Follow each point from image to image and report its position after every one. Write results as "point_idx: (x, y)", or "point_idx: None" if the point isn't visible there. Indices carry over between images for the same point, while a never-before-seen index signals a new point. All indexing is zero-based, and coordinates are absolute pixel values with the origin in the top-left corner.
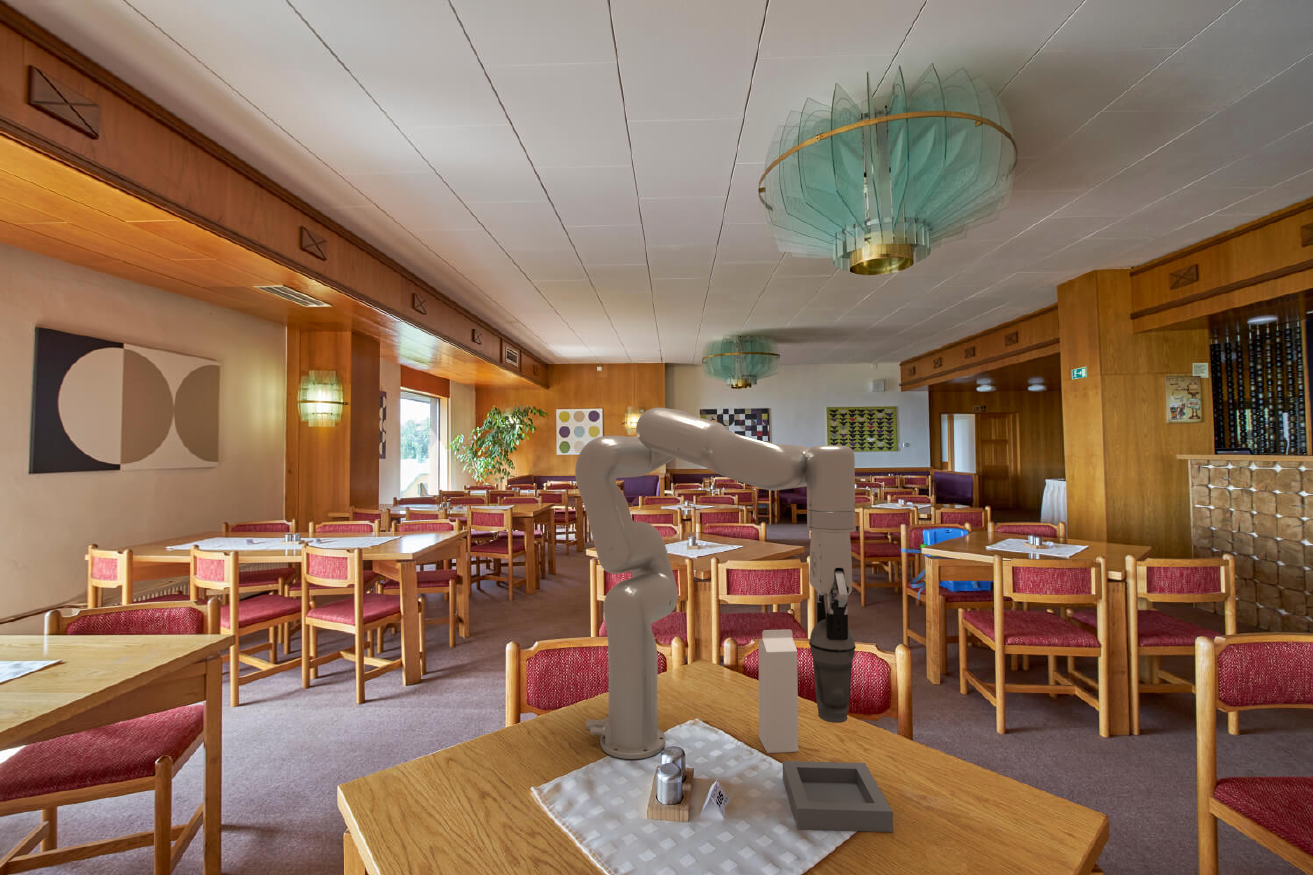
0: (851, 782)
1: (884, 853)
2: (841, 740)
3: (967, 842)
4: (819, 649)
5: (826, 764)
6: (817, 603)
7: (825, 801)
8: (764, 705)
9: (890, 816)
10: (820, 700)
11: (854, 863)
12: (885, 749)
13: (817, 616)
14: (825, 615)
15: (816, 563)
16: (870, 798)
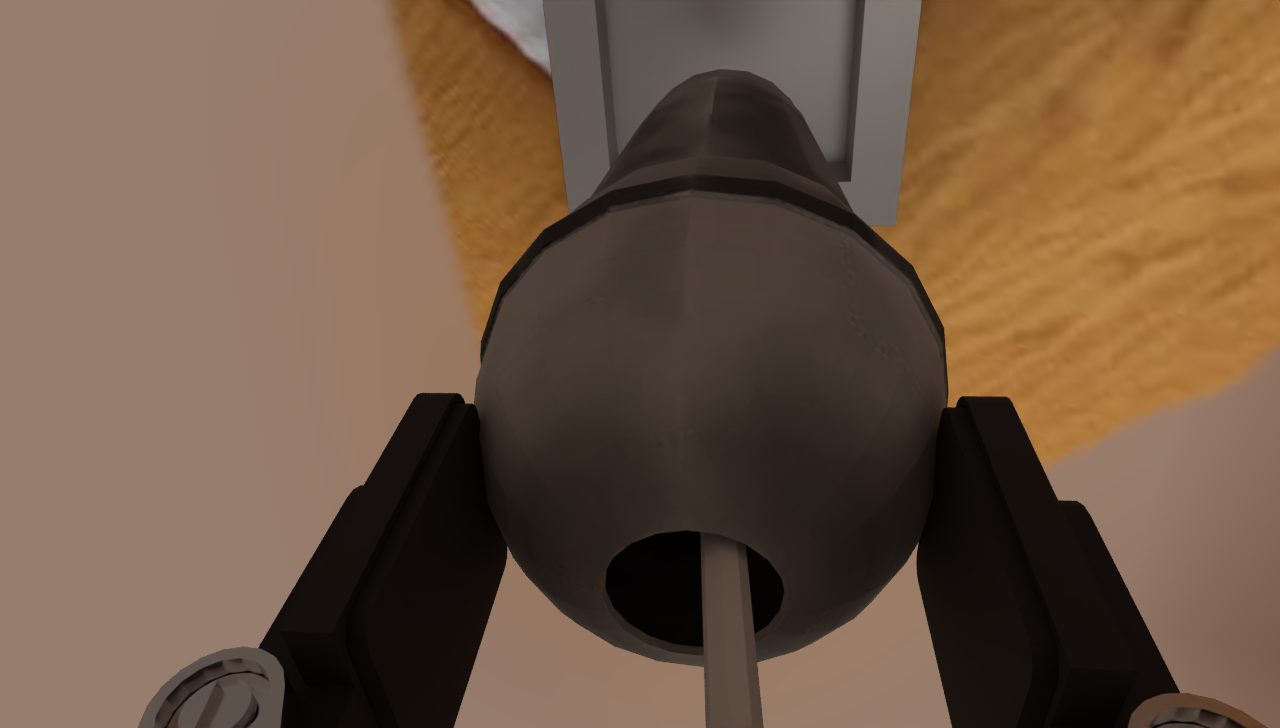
0: (846, 143)
1: (473, 150)
2: (1234, 182)
3: None
4: (528, 251)
5: (890, 61)
6: (1081, 658)
7: (713, 10)
8: None
9: None
10: (665, 105)
11: (402, 45)
12: (1110, 330)
13: (1014, 478)
14: (967, 580)
15: None
16: None
